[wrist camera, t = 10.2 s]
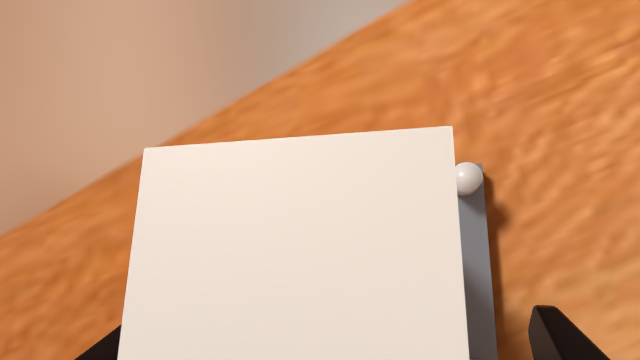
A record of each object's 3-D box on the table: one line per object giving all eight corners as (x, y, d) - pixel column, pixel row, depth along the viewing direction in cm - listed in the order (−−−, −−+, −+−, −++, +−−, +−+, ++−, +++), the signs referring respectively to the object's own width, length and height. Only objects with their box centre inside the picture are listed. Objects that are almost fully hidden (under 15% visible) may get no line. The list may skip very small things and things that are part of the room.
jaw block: (421, 224, 18) (451, 125, 5) (426, 329, 17) (483, 563, 4) (326, 225, 19) (144, 148, 6) (325, 323, 18) (100, 487, 5)
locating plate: (478, 168, 19) (488, 155, 17) (496, 394, 17) (510, 416, 14) (285, 175, 22) (270, 165, 19) (276, 372, 19) (258, 387, 17)
